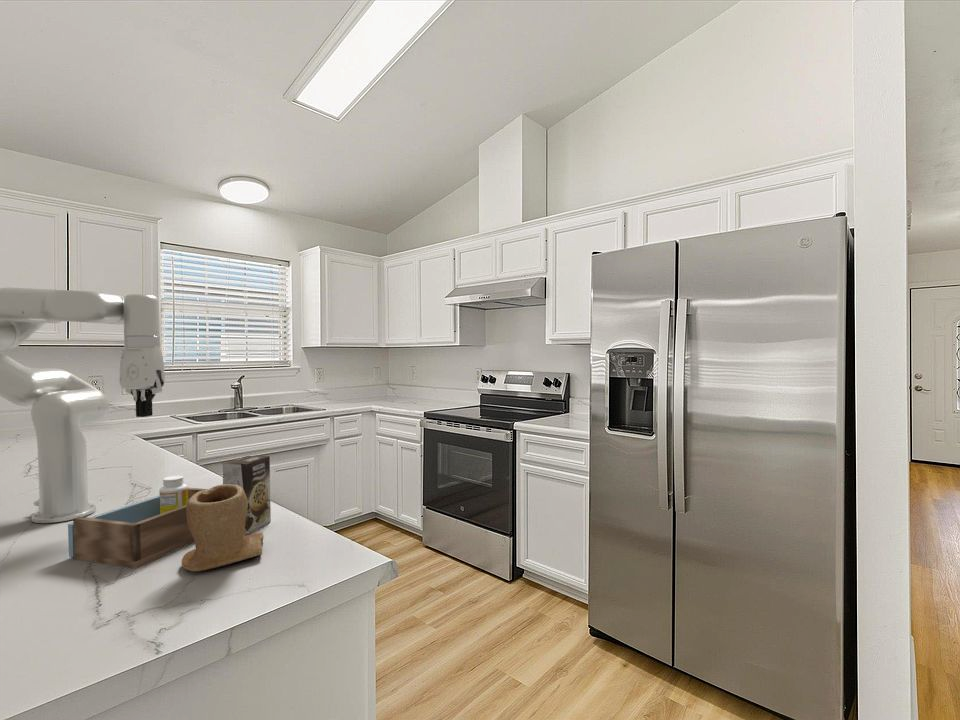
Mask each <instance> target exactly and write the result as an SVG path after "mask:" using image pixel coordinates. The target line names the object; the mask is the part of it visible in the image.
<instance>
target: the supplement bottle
mask: <svg viewBox="0 0 960 720" xmlns="http://www.w3.org/2000/svg"><path fill="white" fill-rule="evenodd" d="M184 482H185V481H184V476H183V475H171V476H166V477H164V478H163V479H162V484H163V485H162V487H160V488H159V495H160V514H162V513H165V512H168V511H171V510H173V509H176V508H179V507H182V506H185V505H187V502H188V488H189V486H188V484H186V483H184Z"/></svg>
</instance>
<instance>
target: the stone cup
mask: <svg viewBox="0 0 960 720" xmlns="http://www.w3.org/2000/svg"><path fill="white" fill-rule="evenodd" d="M207 489H208V490H202V491H199V492H197V493H196V494H194V495H193V496H192V497H191V498H190V499H189V500H188V502H187V506H186V514H187V524H188V527H189V530H190V532H191V534H192V536H193V538H194V541H195V542H194V545H195V548H194V549H191V550H189V551H187V552H186V553H185V554H183V557H182V559H181V566H182V567H183V568H184V569H185V570H187V571H189V572H202V571H208V570H211V569H215V568H219V567H222V566H227V565H230V564H233V563H234V564H235V563H238V562H240V561H243V560H244V561H245V560H248V559H251V558H254V557H258V556H261V555H262V554H263V545H264V533H263V532H262V531H261V532H257V533H253V534H248V535H244V527H245V521H246V515H247V509H248V501H247V497H246V494H245V492H244V489H243V488H242V487H240V486H238V485H234V484H224V485H223V484H217V485H215V486H212V487H211V488H207Z"/></svg>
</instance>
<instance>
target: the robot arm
mask: <svg viewBox="0 0 960 720" xmlns="http://www.w3.org/2000/svg"><path fill="white" fill-rule="evenodd" d="M62 322H69V323H72V322H73V323H75V322H76V323H89V324H103V325H104V324H107V325H123V340H124V342H123V343H124V345H123V346H124V349H122V351H121V356H120V361H119V378H118V379H119V381H118V382H119V386H120V387H121V388H122V389H124V390H125V392H126V394H127V393H128V394H130V395H132V398H133V401H135V417H137V418H146V417H151V416H153V400H155V396H156V395H158V394H161V393H163V387H164V386H165V382H166V379H165V375H166V374H165V363H164V357H163V353H162V349H161V331H160V329H161V328H160V326H161V324H160V322H161V321H160V301H159V298H158V297H157V296H155V295H151V294H146V293H145V294H144V293H143V294H142V293H134V294H133V293H132V294H126V295H119V294H113V293H106V292H98V291H89V290H70V289H69V290H67V289H53V288H52V289H51V288H49V289H47V288H31V287H30V288H29V287H28V288H26V287H0V351H8V350H12V349H15V348H17V347H18V346H20V345H22V344H23V343H24V342H25V341H26V340H28V339H29V338H30V337H31V336H32V335H34V334H35V333H36V332H37V331H39V330H40V329H42V327H43V326H44V325H45V324H58V323H62ZM0 397H1V398H3V399H5V400H6V401H7V402H10V403H11V404H14V405H16V406H19V407H20V406H21V407H29V406H31V409H30V416H31V421H32V425H33V428H34V432H35V437H36V446H37V459H38V460H37V461H38V462H37V463H38V466H37V467H38V490H39V491H38V492H39V493H38V496H39V498H38V499H37V500H35V501H33V506H34V507H38V511H37V512H35V513H33V514H32V515H31V517H30V518H31V522H33V523H35V524H51V523H52V524H54V523H62V522H66V521H71V520H72V521H73V518H77V517H87V516H89V515H92V514H93V513H94V512H96V510H97V505H96V504H94V503H89V489H88V488H89V487H88V486H89V485H88V484H89V483H88V453H87V452H88V451H87V442H86V437H85V436H84V434H83V431H82V430H81V428H80V426H84V425H90V424H94V423H96V422H99V421H101V420H102V419H104V418H105V417H106V416H107V414H108V412H109V411H110V404H109V403H110V401H109V400H108V399H107V396H106V395H105V394H104V393H103V392H102V391H100V389H98V388H96V387H95V386H93V385H91V384H90V383H89V382H87V381H85V380H84V379H81V378H80V377H78V376H76V375H75V374H73V373H71V372H69V371H67V370H64V369H63V368H62V369H61V368H57V367H40V368H39V367H28V366H26V365H23V364H22V363H20V362H18V361H16V360H15V359H14V358H12V357H10V356H8V355H6V354H4V353H1V352H0Z"/></svg>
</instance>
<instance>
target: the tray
mask: <svg viewBox="0 0 960 720" xmlns="http://www.w3.org/2000/svg"><path fill="white" fill-rule="evenodd" d="M159 514H160V494H159V495H157V496H153V497H150V498H146V499H144V500H140V501H137V502H134V503H130V504H128V505H125V506H121V507H119V508H115V509H112V510H108V511H105V512H103V513H99V514H97V515H94V516H90V517H89V518H96V519H104V520H113V521H121V522H130V523H137V522H140V521H143V520H145V519H148V518H151V517H154V516H157V515H159ZM67 533H68V534H67V535H68V536H67V537H68V539H67V541H68V542H67V543H68V557H69V558H74V529H73V522H71V523H68V524H67Z"/></svg>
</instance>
